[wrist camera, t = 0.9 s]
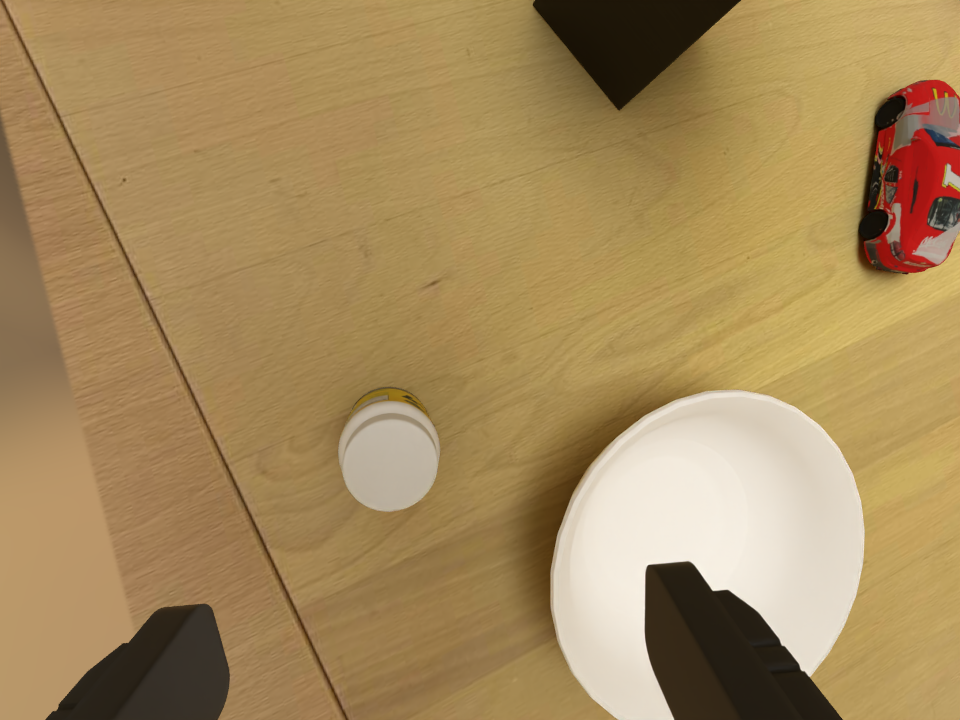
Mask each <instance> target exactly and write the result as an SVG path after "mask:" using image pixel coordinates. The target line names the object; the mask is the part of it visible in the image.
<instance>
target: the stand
mask: <svg viewBox="0 0 960 720" xmlns="http://www.w3.org/2000/svg"><path fill="white" fill-rule="evenodd" d="M740 1H741V0H535V1H534V3H533V6H534V7H535V8H536V9H537V11H538V12H539V13H540V14H541V15H542V17H543V18H544V19H545V20H546V22H547V23H548V24H549V25H550V26H551V28H552V29H553V30H554V31H555V33H556V34H557V35H558V36H559V37H560V39H561V40H562V41H563V42H564V44H565V45H566V46H567V47H568V48H569V50H570V51H571V52H572V53H573V55H574V56H575V57H576V58H577V60H578V61H579V62H580V63H581V64H582V66H583V67H584V68H585V69H586V71H587V72H588V73H589V74H590V75H591V77H592V78H593V79H594V80H595V82H596V83H597V84H598V85H599V86H600V88H601V89H602V90H603V91H604V93H605V94H606V95H607V96H608V97H609V99H610V100H611V101H612V102H613V104H614V105H615V106H616V107H617V108H618V110H621V109H622V108H623V107H624V106H625V105H626V104H627V103H628V102H629V101H631V100H632V99H633V98H634V97H635V96H636V95H637V94H638V93H639V92H641V91H642V90H643V89H644V88H645V87H646V86H647V85H648V84H649V83H650V82H652V81H653V80H654V79H655V78H656V77H657V76H658V75H659V74H660V73H661V72H663V71H664V70H665V69H666V68H667V67H668V66H669V65H670V64H671V63H672V62H674V61H675V60H676V59H677V58H678V57H679V56H680V55H681V54H682V53H683V52H685V51H686V50H687V49H688V48H689V47H690V46H691V45H692V44H693V43H694V42H696V41H697V40H698V39H699V38H700V37H701V36H702V35H703V34H704V33H706V32H707V31H708V30H709V29H710V28H711V27H712V26H713V25H714V24H715V23H717V22H718V21H719V20H720V19H721V18H722V17H723V16H724V15H725V14H726V13H728V12H729V11H730V10H731V9H732V8H733V7H734V6H735V5H736V4H737V3H739V2H740Z"/></svg>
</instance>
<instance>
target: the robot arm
mask: <svg viewBox="0 0 960 720" xmlns="http://www.w3.org/2000/svg"><path fill="white" fill-rule="evenodd" d="M645 642H646V648H647V652H648V656H649V660H650V663H651V666H652V669H653V672H654V674H655V677H656V679H657V681H658V684H659V686H660V688H661V691H662V693H663V695H664V697H665V700H666V702H667V704H668V707H669V709H670V711H671V714H672V716H673V718H674V720H843V719H842V718H841V717H840V716H839V714H838V713H837V712H836V710H835V709H834V708H833V707H832V705H831V704H830V703H829V702H828V700H827V699H826V698H825V696H824V695H823V694H822V693H821V691H820V690H819V689H818V688H817V686H816V685H815V684H814V682H813V681H812V680H811V679H810V677H809V676H808V675H807V674H806V672H805V671H802V670H801V669H800V666H799V663H798V662H797V661H796V660H795V658H794V657H793V656H792V654H791V653H790V652H789V651H788V649H787V648H786V647H785V646H782V645H781V642H780V639H779V638H778V637H777V635H776V634H775V633H774V632H773V630H772V629H771V628H770V626H769V625H768V624H767V623H766V621H765V620H764V619H763V618H762V616H761V615H760V614H759V612H758V611H756V610H755V609H754V608H752V607H751V606H750V605H748V604H747V603H745V602H744V601H743V600H741V599H740V598H739V597H737V596H736V595H735V594H733V593H732V592H731V591H729V590H719V591H712V589H711V588H710V586H709V585H708V583H707V582H706V581H705V579H704V578H703V576H702V575H701V573H700V572H699V571H698V569H697V568H696V567H695V565H694V564H693V563H691V562H690V561H684V562H673V563H662V564H651V565H648V566H647V568H646V572H645ZM229 681H230V673H229V667H228V663H227V659H226V656H225V652H224V649H223V645H222V641H221V638H220V634H219V631H218V627H217V623H216V620H215V616H214V613H213V610H212V608H211V607H210V606H209V605H207V604H195V605H184V606H173V607H164V608H160V609H158V610H157V611H156V612H154V613H153V614H152V615H151V616H150V618H149V619H148V620H147V621H146V622H145V624H144V625H143V626H142V627H141V628H140V630H139V631H138V632H137V633H136V634H135V636H134V637H133V638H132V639H131V641H130V642H129V643H123V644H122V645H120V646H119V647H118V648H117V649H115V650H114V651H113V652H112V653H110V654H109V655H108V656H106V658H104V659H103V660H102V661H100V662H99V663H98V664H97V665H95V666H94V667H93V668H91V669H90V670H89V671H88V672H87V673H86V674H85V675H84V676H83V677H82V678H81V679H80V681H79V682H78V683H77V684H76V686H74V688H73V689H72V690H71V691H70V692H69V693H68V694H67V696H66V697H65V698H64V699H63V700H62V701H61V702H60V704H59V707H58V710H57V711H53V712H52V713H51V714H50V715H49V716H48V717H47V718H46V720H218V718H219V716H220V714H221V712H222V710H223V707H224V704H225V702H226V698H227V694H228V689H229Z"/></svg>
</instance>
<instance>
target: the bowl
mask: <svg viewBox="0 0 960 720" xmlns="http://www.w3.org/2000/svg"><path fill="white" fill-rule="evenodd" d="M864 535H865V531H864V522H863V514H862V505H861V500H860V496H859V493H858V490H857V487H856V483H855V480H854V477H853V473H852V472H851V470H850V468H849V466H848V464H847V462H846V460H845V458H844V457H843V455H842V453H841V451H840V449H839V447H838V446H837V445H836V444H835V443H834V441H833V440H832V439H831V438H830V437H829V436H828V434H827V433H826V432H825V431H824V430H823V428H822V427H821V426H820V425H819V424H817V423H816V422H815V421H813V420H812V419H811V418H809V417H808V416H807V415H805V414H804V413H803V412H801V411H800V410H799V409H797V408H796V407H794V406H792V405H790V404H788V403H785V402H783V401H781V400H778V399H776V398H774V397H772V396H769V395H766V394H760V393H755V392H749V391H744V390H720V391H706V392H702V393H698V394H695V395H691V396H687V397H684V398H680V399H676V400H674V401H672V402H670V403H668V404H666V405H664V406H662V407H660V408H658V409H656V410H654V411H652V412H650V413H648V414H647V415H645V416H643V417H642V418H641V419H639V420H638V421H637V422H636V423H634V424H633V425H632V426H630V427H629V428H628V429H627V430H625V431H624V432H623V433H621V434H620V435H619V436H618V437H616V438H615V439H614V441H612V442H611V443H610V444H608V445H607V446H606V448H605V449H604V450H603V451H602V452H601V453H600V454H599V455H598V457H597V458H596V459H595V460H594V461H593V462H592V463H591V464H590V466H589V467H588V468H587V470H586V472H585V473H584V475H583V477H582V478H581V480H580V482H579V483H578V485H577V487H576V488H575V490H574V492H573V494H572V497H571V500H570V502H569V505H568V507H567V510H566V512H565V515H564V518H563V521H562V524H561V526H560V529H559V532H558V534H557V539H556V545H555V550H554V555H553V561H552V566H551V612H552V617H553V622H554V626H555V631H556V636H557V641H558V643H559V646H560V648H561V650H562V653H563V655H564V657H565V659H566V662H567V664H568V666H569V668H570V671H571V672H572V674H573V675H574V676H575V678H576V679H577V680H578V682H579V683H580V684H581V686H582V687H583V688H584V690H585V691H586V692H587V694H588V695H589V696H590V697H591V698H592V699H593V700H594V701H596V702H597V703H598V704H599V705H601V706H602V707H603V708H604V709H605V710H607V711H608V712H609V713H610V714H611V715H613V716H614V717H615V718H617V719H619V720H674V718H673V716H672V714H671V711H670V709H669V707H668V704H667V702H666V700H665V697H664V695H663V693H662V691H661V688H660V686H659V684H658V681H657V679H656V677H655V674H654V672H653V669H652V666H651V663H650V660H649V656H648V652H647V648H646V642H645V572H646V568H647V566H648V565H651V564H662V563H673V562H684V561H690V562H691V563H693V564H694V565H695V567H696V568H697V569H698V571H699V572H700V573H701V575H702V576H703V578H704V579H705V581H706V582H707V583H708V585H709V586H710V588H711V589H712V591H719V590H729V591H731V592H732V593H733V594H735V595H736V596H737V597H739V598H740V599H741V600H743V601H744V602H745V603H747V604H748V605H750V606H751V607H752V608H754V609H755V610H756V611H758V612H759V614H760V615H761V616H762V618H763V619H764V620H765V621H766V623H767V624H768V625H769V626H770V628H771V629H772V630H773V632H774V633H775V634H776V635H777V637H778V638H779V639H780V642H781V645H782V646H785V647H786V648H787V649H788V651H789V652H790V653H791V654H792V656H793V657H794V658H795V660H796V661H797V662H798V663H799V666H800V669H801V670H802V671H805V672H806V674H807V675H808V676H809V677H810V676H811V675H812V674H813V673H814V671H815V670H816V669H817V667H818V666H819V665H820V664H821V662H822V661H823V660H824V659H825V657H826V656H827V655H828V653H829V652H830V650H831V648H832V647H833V645H834V643H835V641H836V639H837V638H838V636H839V634H840V632H841V631H842V629H843V627H844V625H845V623H846V620H847V618H848V615H849V612H850V610H851V607H852V605H853V602H854V599H855V597H856V594H857V589H858V584H859V580H860V575H861V570H862V566H863V554H864Z"/></svg>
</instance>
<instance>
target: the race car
mask: <svg viewBox="0 0 960 720" xmlns="http://www.w3.org/2000/svg"><path fill="white" fill-rule="evenodd" d="M887 100H889V101H888V102H886V103H885V104H884V105H883V106H882V107H881V108H880V109H879V111H878V113H877V115H876V119H875V122H876V125H877V126H878V127H880V128H884V130H881V131H879V133H878V140H877V147H876V153H875V160H874V167H873V174H872V181H871V188H870V194H869V201H868V208H867V211H870V212H872V213H870V214H868V215H867V216H866V217H865V218H864V219H863V220H862V222H861V224H860V228H859V230H860V234H861V235H862V236H863V237H864V238H868V239H872V240H868V241H864V248H865V252H866V256H867V258H868V260H869V262H870V263H871V264H872V265H873V266H876V269H879V270H884V271H888V272H893V273H902V274H908V273H915V272H923V271H925V270H926V269H928V268H931V267H935V266H938V265H940V264H941V263H943V262H944V261H945V260H946V258H947V257H948V256H949V254H950V252H951V249H952V246H953V243H954V241H955V239H956V237H957V235H958V233H959V231H960V97H959V96H958V95H957V94H956V92H955V91H954V90H953V89H952V88H951V87H950V86H949V85H948V84H946V83H945V82H943V81H940V80H924V81H918V82H916V83H913V84H911V85H909V86H907V87H905V88H903V89H900V90H899V91H897V92H895V93H894V94H892V95H891V96H890V97H888V98H887Z"/></svg>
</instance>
